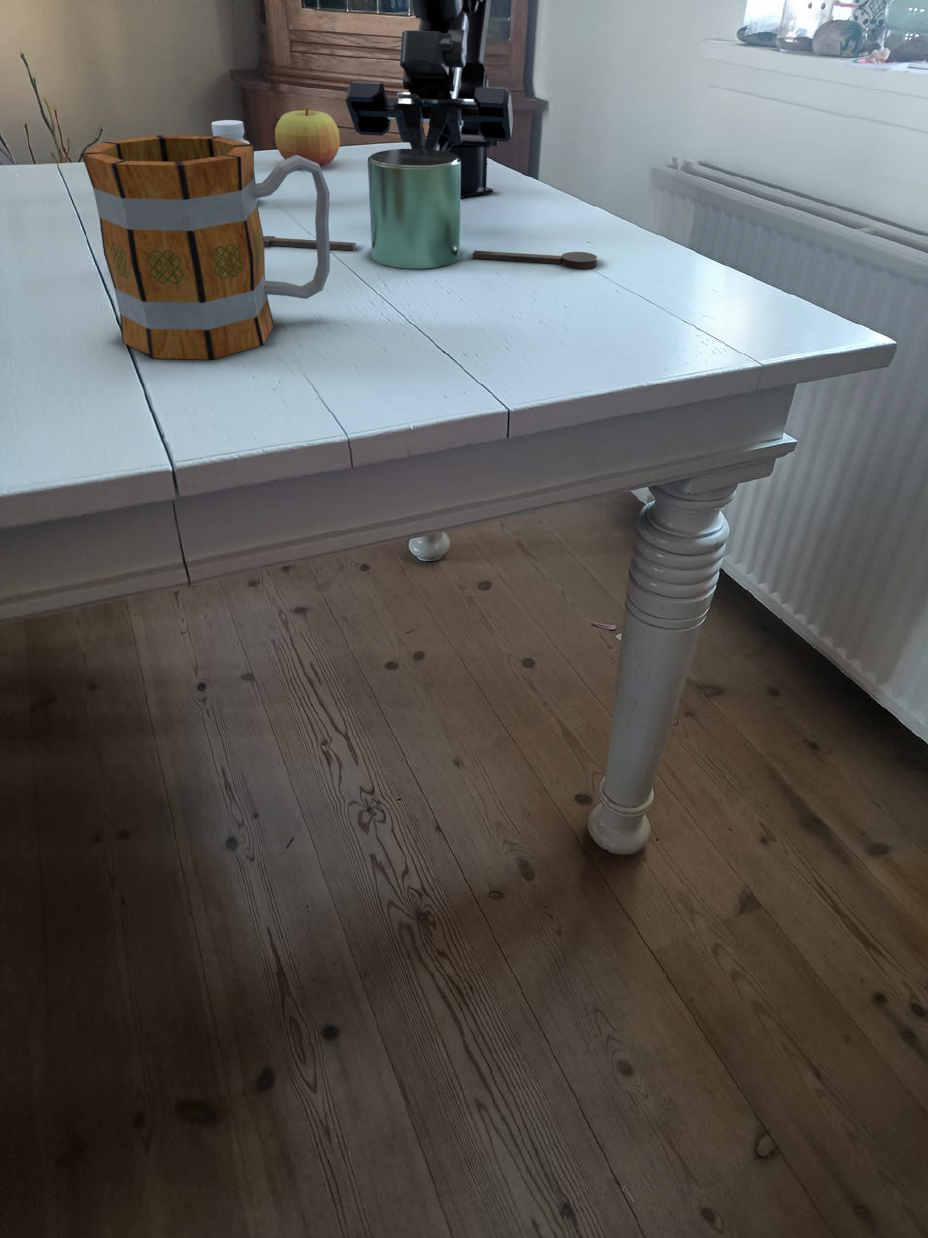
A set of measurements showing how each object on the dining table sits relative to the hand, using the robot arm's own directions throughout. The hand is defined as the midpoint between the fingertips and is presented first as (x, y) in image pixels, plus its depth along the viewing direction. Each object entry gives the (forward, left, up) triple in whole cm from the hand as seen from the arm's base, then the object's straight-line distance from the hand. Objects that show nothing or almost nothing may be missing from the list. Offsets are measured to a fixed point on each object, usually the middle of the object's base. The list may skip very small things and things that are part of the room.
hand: (419, 177), depth 102 cm
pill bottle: (+10, -30, -7) cm, 32 cm away
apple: (-10, -48, -7) cm, 49 cm away
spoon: (-7, +13, -7) cm, 16 cm away
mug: (+30, +15, -7) cm, 35 cm away
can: (+3, +4, -7) cm, 9 cm away
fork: (+13, -7, -7) cm, 16 cm away
